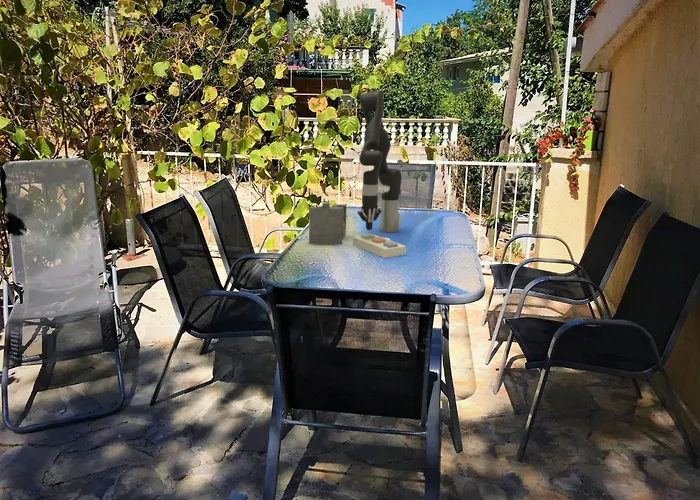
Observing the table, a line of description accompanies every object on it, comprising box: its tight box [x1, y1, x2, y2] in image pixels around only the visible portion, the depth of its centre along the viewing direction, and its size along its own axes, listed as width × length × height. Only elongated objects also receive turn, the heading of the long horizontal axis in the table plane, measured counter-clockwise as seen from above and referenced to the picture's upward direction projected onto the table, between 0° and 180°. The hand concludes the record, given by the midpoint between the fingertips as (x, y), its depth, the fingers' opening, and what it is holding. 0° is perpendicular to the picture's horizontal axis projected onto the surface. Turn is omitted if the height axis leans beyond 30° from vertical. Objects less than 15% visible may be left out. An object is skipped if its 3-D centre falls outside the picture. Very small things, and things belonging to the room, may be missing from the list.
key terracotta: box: [372, 237, 386, 243], centre depth 249 cm, size 5×5×3 cm
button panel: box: [352, 234, 407, 259], centre depth 249 cm, size 12×26×4 cm, turn 33°
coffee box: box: [331, 203, 347, 240], centre depth 269 cm, size 9×6×16 cm
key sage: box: [360, 233, 375, 239], centre depth 256 cm, size 5×5×3 cm
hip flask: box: [308, 201, 343, 245], centre depth 256 cm, size 16×4×20 cm, turn 92°
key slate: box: [383, 241, 398, 248], centre depth 242 cm, size 5×5×3 cm
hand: (369, 229), depth 255 cm, fingers closed
